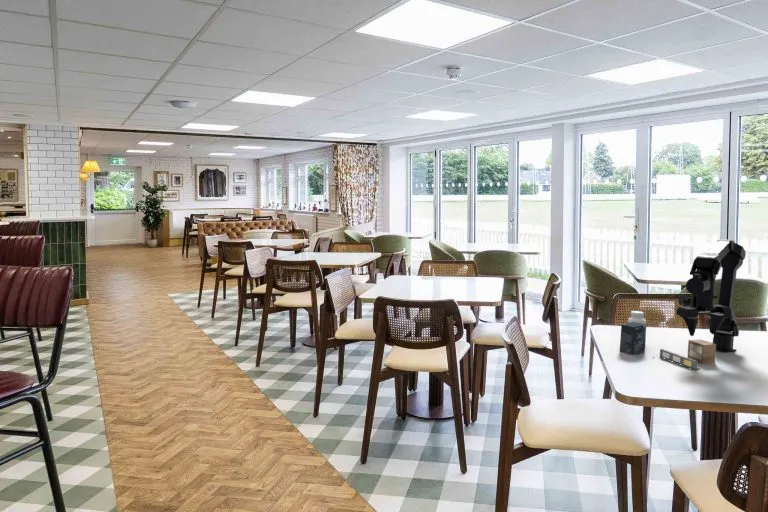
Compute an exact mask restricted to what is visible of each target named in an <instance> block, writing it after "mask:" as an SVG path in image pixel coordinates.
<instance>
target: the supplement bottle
mask: <svg viewBox="0 0 768 512" xmlns="http://www.w3.org/2000/svg"><path fill="white" fill-rule="evenodd" d="M630 316H631V317H628V319H627V323H631V322H636V323H641V324H645V325H646V326H647V319H645V318H644V316H645V312H644V311H640V310H631V311H630ZM645 342H646V339H645Z"/></svg>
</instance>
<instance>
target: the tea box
mask: <svg viewBox="0 0 768 512" xmlns="http://www.w3.org/2000/svg"><path fill="white" fill-rule="evenodd" d="M687 345H688V346H687V358H690V359H693V360H695V361H698V363H697V364H700V363H701V364H700V365H703V364H704V365H711V363H715V364H716V351H717V350H716V344H714V343H713V342H710V341H707V340H705V339H704V340H703V339H699V338H698V339H688V344H687Z"/></svg>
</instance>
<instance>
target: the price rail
mask: <svg viewBox="0 0 768 512" xmlns="http://www.w3.org/2000/svg"><path fill="white" fill-rule="evenodd" d="M661 357H662V358H661ZM659 358H661V359H663V358H665V359H664V360H666V359H667V360H666V361H669V360H670V361H669V362H671V361H673V362H672V363H674V362H675V363H674V364H677V363H678V364H677V365H679V364H681V365H680V366H682V365H683V367H685V366H686V368H687V367H688V369H690V368H691V369H690V370H693V369H694V370H693V371H700V370H701V367H698V364H699V363H698V361H695V360H693V359H690V358H688V356H684V355H680V354H678V353H676V352H672V351H669V350H667V349H664V348H660V350H659ZM699 369H700V370H699Z"/></svg>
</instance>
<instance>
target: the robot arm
mask: <svg viewBox="0 0 768 512" xmlns="http://www.w3.org/2000/svg"><path fill="white" fill-rule="evenodd" d="M746 256H747V255H746V249H745V248H744V247H743V245H741V244H738V243H736V242H735V240H733V239H723V238H722V239H721V238H720V239H718V240H717V241H716V244H714V245H713V246H712V248H710V250H709V251H708V252H702V253H700V254H698V255H697V256H696V257H695V258H694V260H693V262H692V264H691V265H692V266H691V268H690V271H689V275H691V276H692V277H691V278H689V279H688V280H687V281H686V283H685V288H686V290H687V292H688V293H690V294H691V295H692V296H691V297H688V296H687V295H680V296H678V305H679V306H677V308H676V311H675V313H676V315H678V316H679V318H682V319H683V320H684V321H685V324H686V326H687V330H688V333H689V336H690V337H693V336H694V337H695V333H696V330H697V325H698V322H699V318H698V316H699V315H700V314H701V315H702V314H703V315H705V314H708V315H709V321H708V326H709V333H710V334H711V335H713V337H712V343H714V344H716V351H718V352H722V353H729V352H731V353H732V352H737V349H736V348H734V337H739V335H740V328H739V324H738V322H737V315H736V313H735V312H734V311H733V310H734V309H733V303H734V296H735V287H736V280H737V279H736V278H737V271H738V270H739V269H740V267H742V265H743V263H744V260H745V259H746ZM721 268H722V270H721ZM720 270H721V271H722V272H721V278H720V287H719V293H718V295H717V294H715V293H716V292H715V291H716V278H717V275H719V273H720ZM715 299H718V302H717V304H715Z"/></svg>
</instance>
